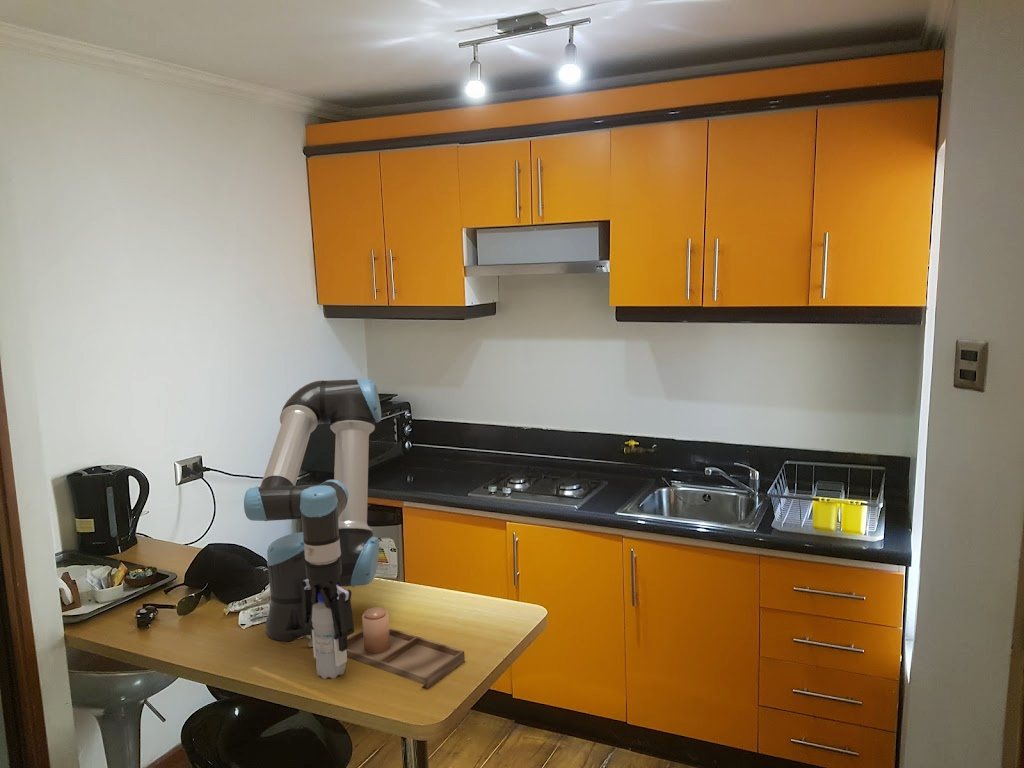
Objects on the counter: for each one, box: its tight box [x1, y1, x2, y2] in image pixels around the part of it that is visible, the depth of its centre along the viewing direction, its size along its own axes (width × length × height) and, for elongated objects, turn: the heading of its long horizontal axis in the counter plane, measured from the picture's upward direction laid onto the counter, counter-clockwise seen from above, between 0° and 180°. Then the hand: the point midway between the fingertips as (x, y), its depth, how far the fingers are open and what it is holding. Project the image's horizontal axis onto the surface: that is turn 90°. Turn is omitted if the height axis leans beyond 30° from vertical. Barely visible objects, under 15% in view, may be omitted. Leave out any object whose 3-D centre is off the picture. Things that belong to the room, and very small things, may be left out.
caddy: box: [346, 627, 466, 690], centre depth 173 cm, size 28×13×2 cm, turn 56°
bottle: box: [312, 592, 347, 680], centre depth 165 cm, size 7×7×20 cm
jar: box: [361, 606, 390, 654], centre depth 176 cm, size 6×6×9 cm
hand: (330, 659), depth 166 cm, fingers closed on bottle, 6 cm apart
